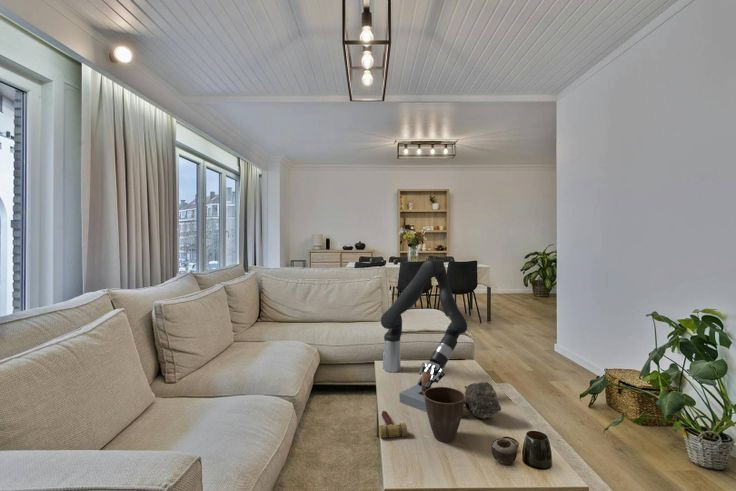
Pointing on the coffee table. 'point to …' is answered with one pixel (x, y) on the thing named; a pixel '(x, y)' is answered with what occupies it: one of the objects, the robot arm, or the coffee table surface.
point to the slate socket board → (414, 397)
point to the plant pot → (444, 411)
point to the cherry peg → (425, 380)
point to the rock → (480, 400)
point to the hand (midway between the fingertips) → (422, 386)
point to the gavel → (391, 428)
